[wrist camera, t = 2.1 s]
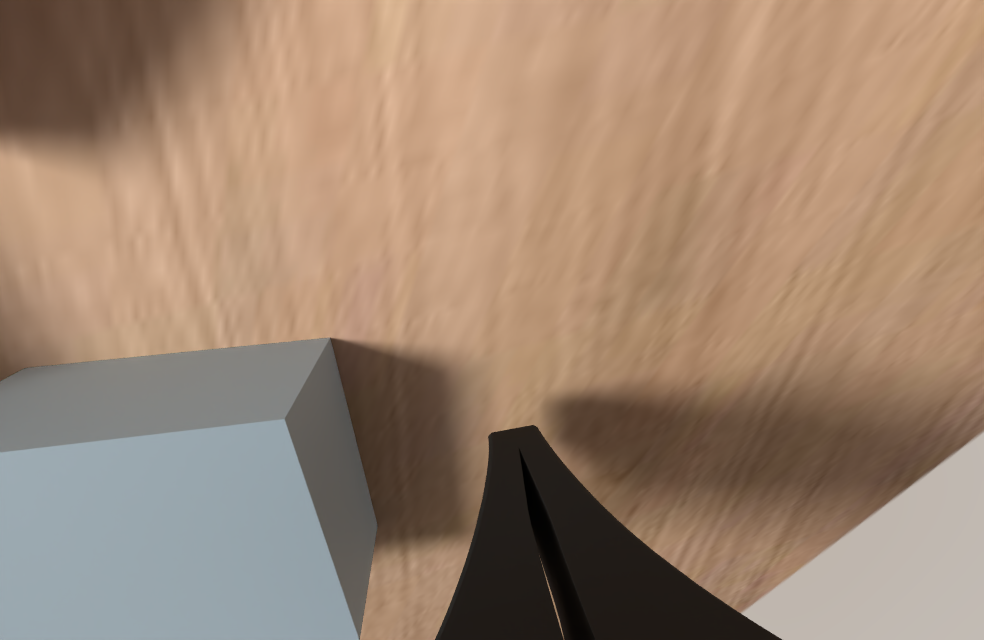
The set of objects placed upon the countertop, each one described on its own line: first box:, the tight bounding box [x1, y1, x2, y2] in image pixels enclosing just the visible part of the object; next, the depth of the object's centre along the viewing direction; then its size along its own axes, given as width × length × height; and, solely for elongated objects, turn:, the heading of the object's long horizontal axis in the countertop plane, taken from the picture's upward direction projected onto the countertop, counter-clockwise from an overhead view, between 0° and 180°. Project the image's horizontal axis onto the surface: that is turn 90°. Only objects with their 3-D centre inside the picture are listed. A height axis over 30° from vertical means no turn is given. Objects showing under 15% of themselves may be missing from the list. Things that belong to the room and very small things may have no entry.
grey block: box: [0, 338, 378, 640], centre depth 11 cm, size 8×8×4 cm
